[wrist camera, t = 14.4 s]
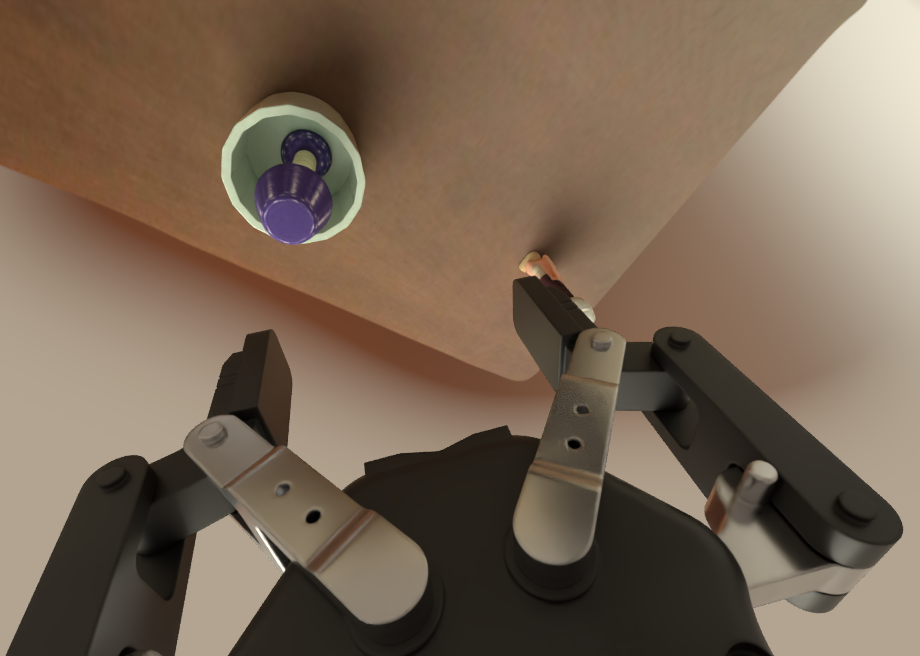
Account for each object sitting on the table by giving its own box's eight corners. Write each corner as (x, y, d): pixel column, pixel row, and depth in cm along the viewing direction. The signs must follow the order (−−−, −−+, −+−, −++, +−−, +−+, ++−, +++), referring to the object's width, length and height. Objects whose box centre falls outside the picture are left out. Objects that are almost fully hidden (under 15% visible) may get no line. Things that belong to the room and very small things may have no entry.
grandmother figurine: (564, 269, 53) (622, 325, 43) (542, 293, 54) (593, 353, 44) (522, 234, 49) (575, 287, 38) (500, 260, 50) (545, 318, 40)
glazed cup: (222, 100, 35) (196, 116, 28) (342, 84, 37) (347, 96, 29) (264, 215, 41) (251, 253, 33) (366, 196, 42) (376, 230, 35)
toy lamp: (304, 193, 40) (296, 274, 26) (260, 153, 37) (226, 219, 24) (342, 157, 39) (353, 221, 26) (300, 113, 36) (287, 158, 23)
